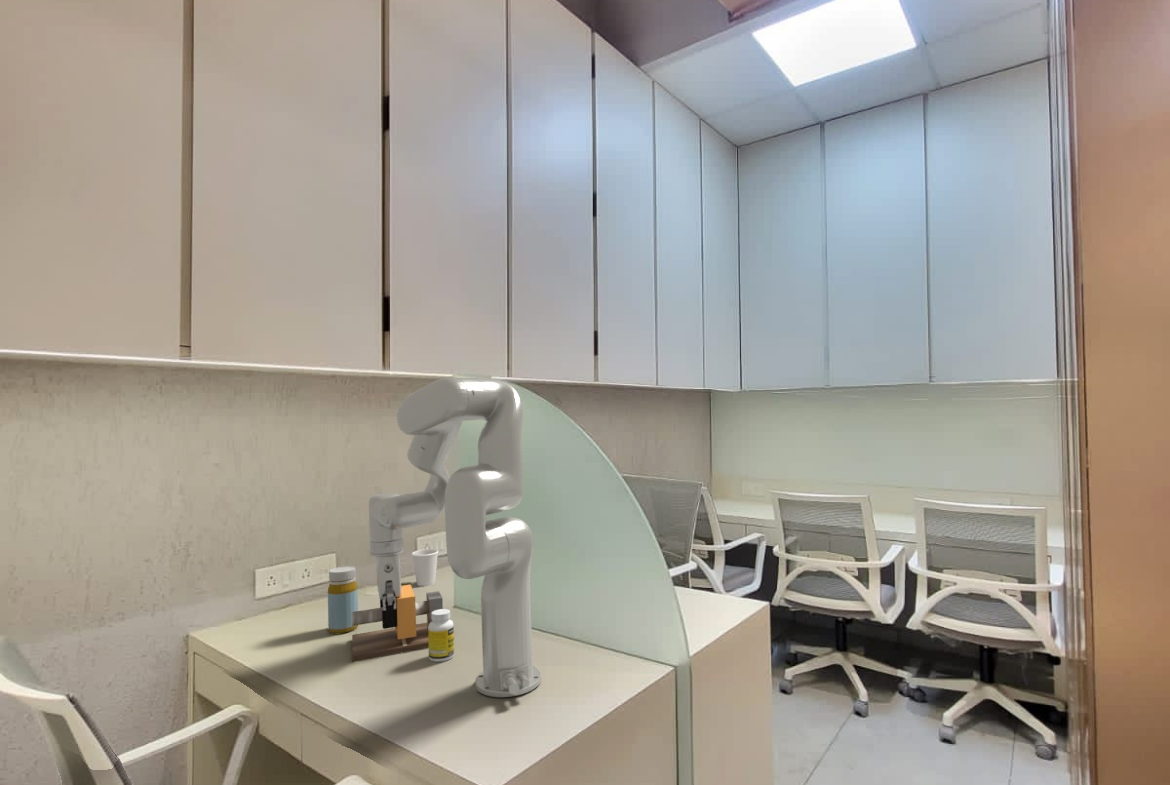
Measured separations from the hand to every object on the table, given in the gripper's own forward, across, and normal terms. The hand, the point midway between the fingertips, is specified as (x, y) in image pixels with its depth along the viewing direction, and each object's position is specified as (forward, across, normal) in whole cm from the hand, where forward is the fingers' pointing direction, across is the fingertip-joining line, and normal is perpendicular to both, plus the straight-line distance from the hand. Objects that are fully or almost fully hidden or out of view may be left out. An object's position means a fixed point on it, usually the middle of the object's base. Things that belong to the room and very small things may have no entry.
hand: (388, 620), depth 136 cm
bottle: (+5, +16, +10) cm, 20 cm away
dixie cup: (+5, +49, -14) cm, 51 cm away
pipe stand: (+5, 0, -2) cm, 6 cm away
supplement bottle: (+5, -14, -10) cm, 18 cm away
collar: (+3, 0, -4) cm, 5 cm away
